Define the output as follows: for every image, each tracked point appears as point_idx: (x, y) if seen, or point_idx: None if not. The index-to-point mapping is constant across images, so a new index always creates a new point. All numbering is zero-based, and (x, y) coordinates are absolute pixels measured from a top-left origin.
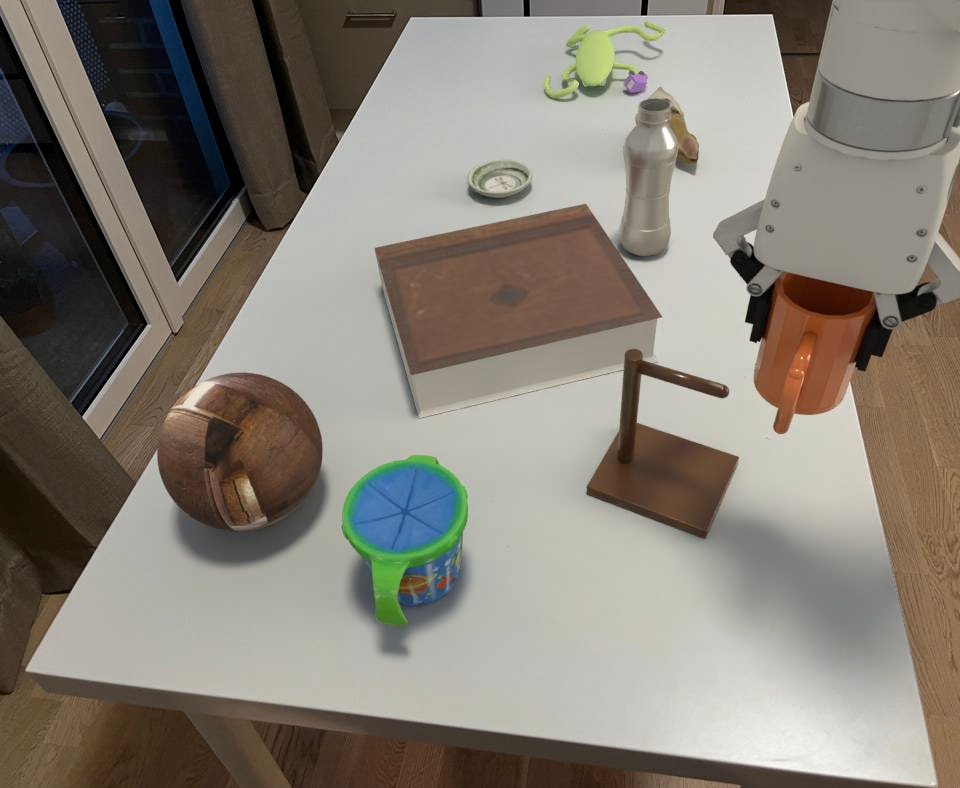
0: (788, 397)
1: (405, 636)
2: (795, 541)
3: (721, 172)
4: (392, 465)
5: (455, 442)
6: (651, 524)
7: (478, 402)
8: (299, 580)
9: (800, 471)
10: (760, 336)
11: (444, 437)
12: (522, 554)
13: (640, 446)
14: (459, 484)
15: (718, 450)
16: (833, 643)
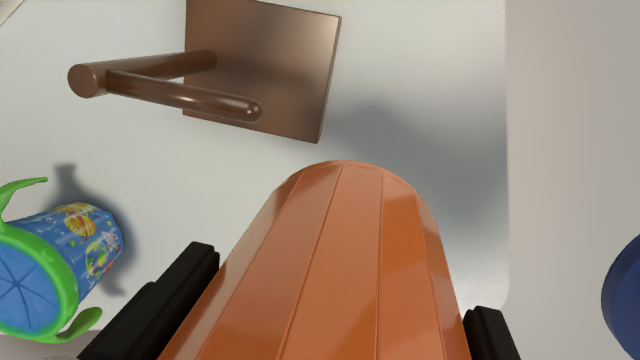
0: None
1: (116, 281)
2: (413, 119)
3: None
4: None
5: (33, 76)
6: (263, 134)
7: (17, 3)
8: None
9: (421, 5)
10: None
11: (19, 72)
12: (161, 196)
13: (218, 35)
14: (36, 257)
15: (312, 13)
16: (446, 225)
